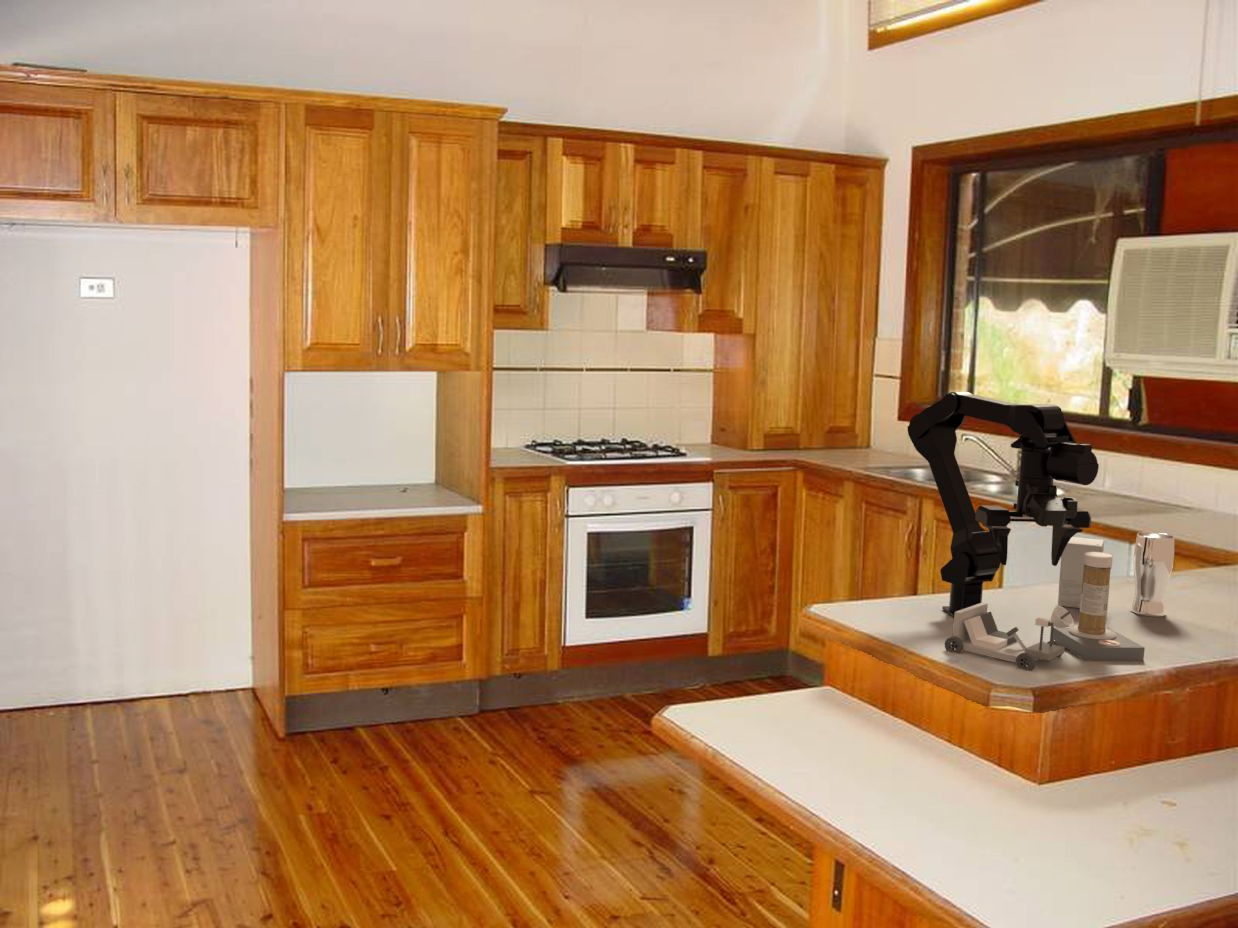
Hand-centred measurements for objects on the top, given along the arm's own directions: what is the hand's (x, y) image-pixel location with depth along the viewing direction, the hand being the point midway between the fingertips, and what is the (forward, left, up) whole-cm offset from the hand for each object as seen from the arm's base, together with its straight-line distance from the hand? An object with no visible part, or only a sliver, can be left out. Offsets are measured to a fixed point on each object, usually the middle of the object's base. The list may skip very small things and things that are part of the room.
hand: (1029, 565), depth 219 cm
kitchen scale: (+11, +8, -12) cm, 18 cm away
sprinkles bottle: (+9, +8, -10) cm, 15 cm away
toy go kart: (+14, -9, -13) cm, 21 cm away
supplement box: (-20, +20, -12) cm, 31 cm away
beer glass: (-14, +31, -12) cm, 36 cm away
